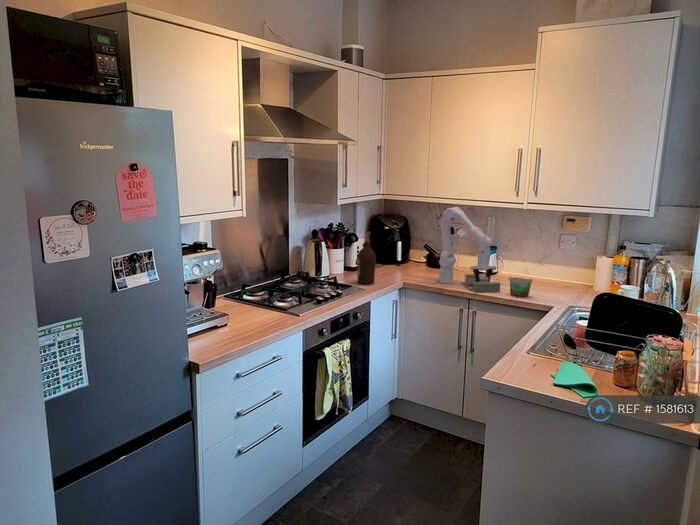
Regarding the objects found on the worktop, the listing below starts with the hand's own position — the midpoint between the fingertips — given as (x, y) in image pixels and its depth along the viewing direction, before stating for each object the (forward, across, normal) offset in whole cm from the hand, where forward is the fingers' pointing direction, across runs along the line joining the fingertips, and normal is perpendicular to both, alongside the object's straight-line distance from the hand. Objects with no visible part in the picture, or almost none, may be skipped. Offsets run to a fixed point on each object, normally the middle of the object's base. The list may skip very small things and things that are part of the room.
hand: (482, 282), depth 287 cm
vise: (+3, 0, +1) cm, 3 cm away
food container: (+4, +14, -17) cm, 22 cm away
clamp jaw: (+3, 0, +7) cm, 8 cm away
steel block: (+3, 0, 0) cm, 4 cm away
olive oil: (+3, -64, +14) cm, 66 cm away
